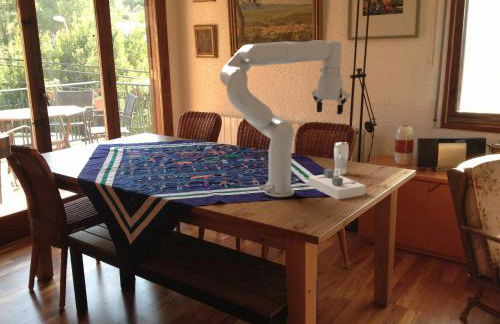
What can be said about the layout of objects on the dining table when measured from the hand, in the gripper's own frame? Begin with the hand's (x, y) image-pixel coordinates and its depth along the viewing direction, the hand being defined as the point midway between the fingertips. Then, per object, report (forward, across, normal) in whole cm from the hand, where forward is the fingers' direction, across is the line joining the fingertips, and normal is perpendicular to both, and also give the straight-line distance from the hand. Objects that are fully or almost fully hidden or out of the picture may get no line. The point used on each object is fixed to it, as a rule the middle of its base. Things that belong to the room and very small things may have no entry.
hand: (329, 113), depth 193 cm
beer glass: (+33, -7, +25) cm, 42 cm away
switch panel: (+33, +5, 0) cm, 33 cm away
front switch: (+29, +8, -5) cm, 30 cm away
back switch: (+29, -1, +4) cm, 29 cm away
